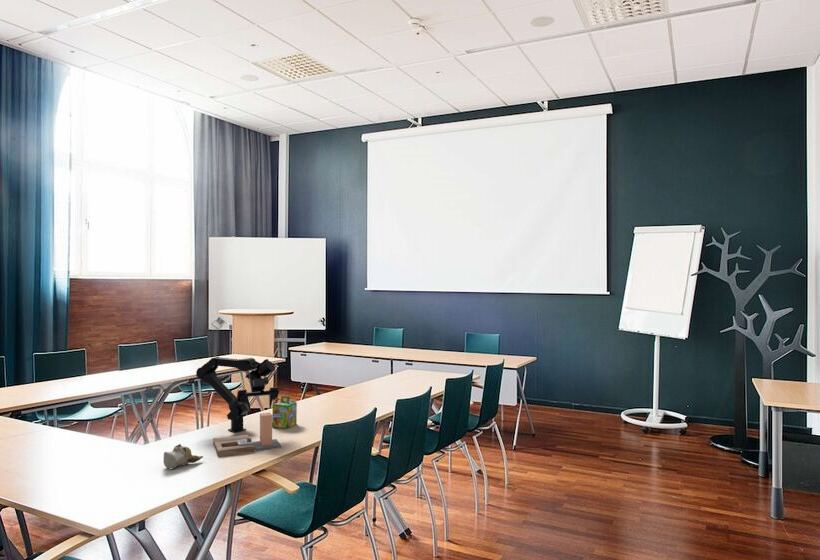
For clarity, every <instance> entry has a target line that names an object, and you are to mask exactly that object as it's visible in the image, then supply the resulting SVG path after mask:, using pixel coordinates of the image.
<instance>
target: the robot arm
mask: <svg viewBox="0 0 820 560" xmlns="http://www.w3.org/2000/svg"><path fill="white" fill-rule="evenodd" d="M219 367H226V368H235V369H238V370H239V371H242V372H247V374H246V375H245V378H246V379H248V380H249V385H250V391H247V389H238V390H237V393H236V395H235V394H234V393H233V392H232V391H231V390H230V389H229V388H228V387H227V385H225V384H224V382H222V380H220V378H219V377H218V375H217V372H216V370H217V369H218V368H219ZM274 371H276V366H275V364H274V363H272V362H271V361H270V360H269V359H268V358H267V359H263V361H262V362H258V361H257V360H256V359H255V358H253V357H248V358H241V359H237V358H228V357H219V356H216V357H211V358H210V360H209V361H206V363H205V364H203V365H202V366H201V367H198V368H197V370H196V372H195V375H196V376H195V377H197V378H198V380H200V381H201V382H203V383H205V384H208V385H210V387H211V388H212V389H214V391H215V392H216V394H218V395H219V396H220V398H222V399H223V400H224V401H225V402H226V403H227V405H228V409H229V413H227V415H226V418H227V420H230V428H228V431H229V432H231V433H239V432H240V433H241V432H244V431H247V428H244V417H246V416H247V415H248V412H251V410H252V409H251V404H250V401H249V398H250V397H262V396H263V397H264V396H268V408H269V410H271V409H272V406H273V404H272V403H273V401H274V400H276V399H277V398H278V397H279V393H280V389H279V387H278V386H273V387H272V386H271V387H269V390H265V389H266V388H265V387H266V386H265V385H268V384H269V377H268V376H269V375H270V374H272V373H273V372H274Z"/></svg>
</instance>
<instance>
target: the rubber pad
mask: <svg viewBox="0 0 820 560" xmlns="http://www.w3.org/2000/svg"><path fill="white" fill-rule="evenodd" d="M252 442H253V444H254V446H255V452H257V451H265V450H266V451H267V450H272V449H273V450H274V449H280V448H281V449H282V445H281V443H280V442H279V441H278V439H276V438H274V439H273V438H272V444H271V445H263V446H262V445H261V444H260V440H257V441H252Z"/></svg>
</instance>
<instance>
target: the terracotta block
mask: <svg viewBox="0 0 820 560" xmlns="http://www.w3.org/2000/svg"><path fill="white" fill-rule="evenodd" d="M272 440H273V427H272V412H263V413H259V441H260V444H261V445H262V446H263V445H271V444H272Z"/></svg>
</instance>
